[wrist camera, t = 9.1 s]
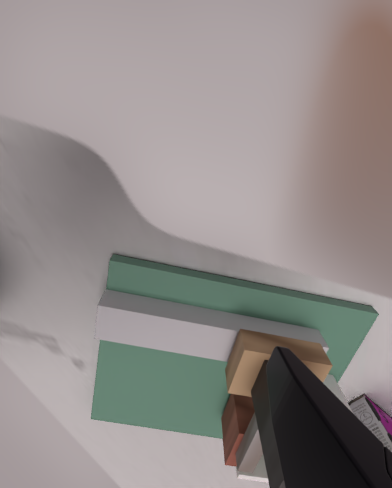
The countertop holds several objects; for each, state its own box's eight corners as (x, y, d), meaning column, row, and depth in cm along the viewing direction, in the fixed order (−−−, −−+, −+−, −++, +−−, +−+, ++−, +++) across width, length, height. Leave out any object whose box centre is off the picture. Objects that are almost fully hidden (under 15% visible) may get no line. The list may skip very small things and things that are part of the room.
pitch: (94, 409, 28) (76, 459, 24) (113, 254, 21) (93, 286, 17) (294, 439, 30) (309, 491, 26) (371, 306, 23) (410, 346, 19)
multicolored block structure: (200, 414, 26) (202, 571, 17) (236, 311, 21) (265, 451, 12) (262, 424, 27) (295, 580, 18) (310, 325, 22) (390, 470, 13)
